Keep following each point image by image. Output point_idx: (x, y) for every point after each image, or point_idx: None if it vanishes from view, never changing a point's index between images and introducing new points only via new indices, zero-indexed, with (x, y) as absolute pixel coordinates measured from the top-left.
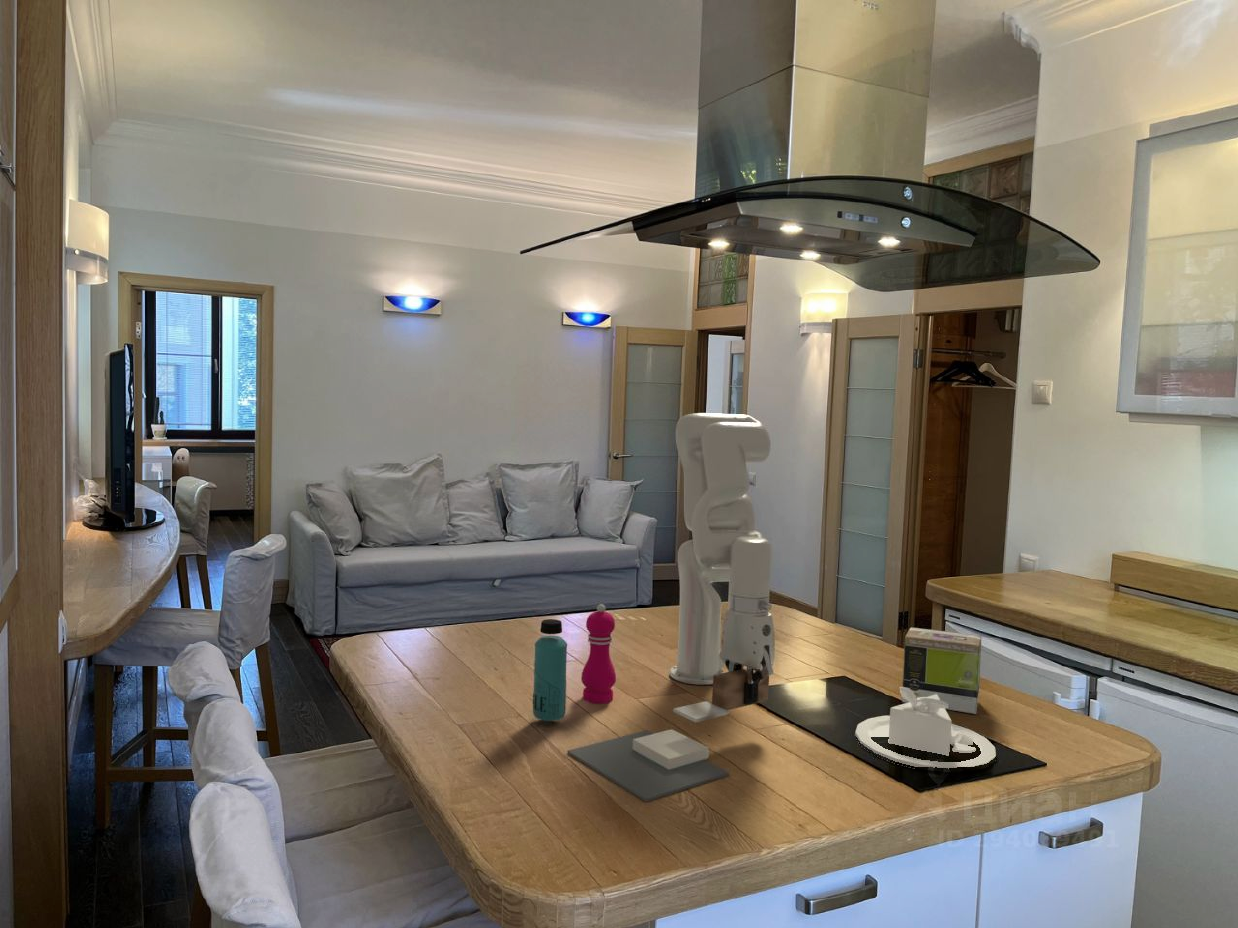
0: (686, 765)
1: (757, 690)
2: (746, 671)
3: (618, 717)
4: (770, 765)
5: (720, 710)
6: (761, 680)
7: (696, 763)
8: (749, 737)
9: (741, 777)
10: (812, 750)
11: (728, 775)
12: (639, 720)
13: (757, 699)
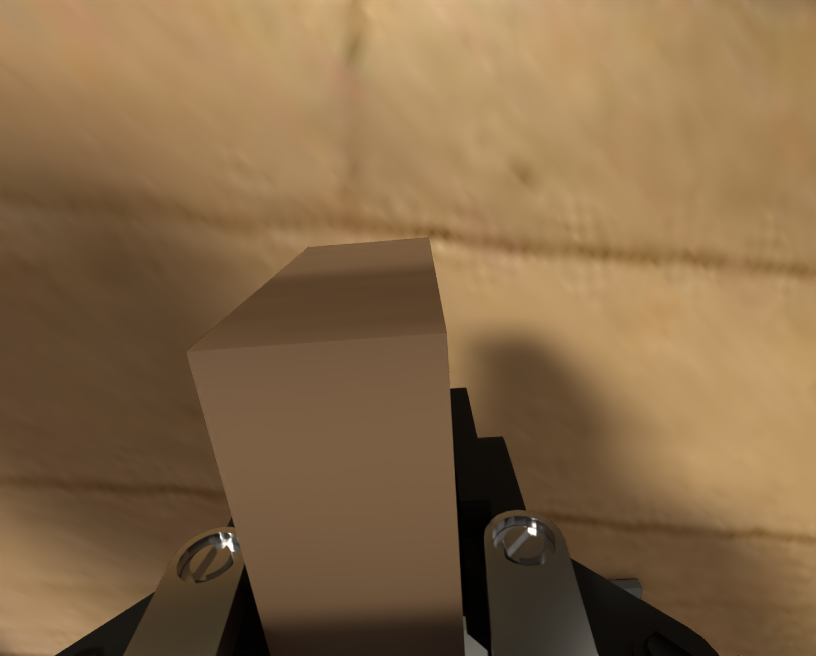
0: None
1: (517, 483)
2: (373, 652)
3: (43, 603)
4: (682, 426)
5: (476, 652)
6: (557, 528)
7: None
8: None
9: (674, 558)
10: (718, 141)
11: (637, 581)
12: (89, 564)
13: (466, 392)
